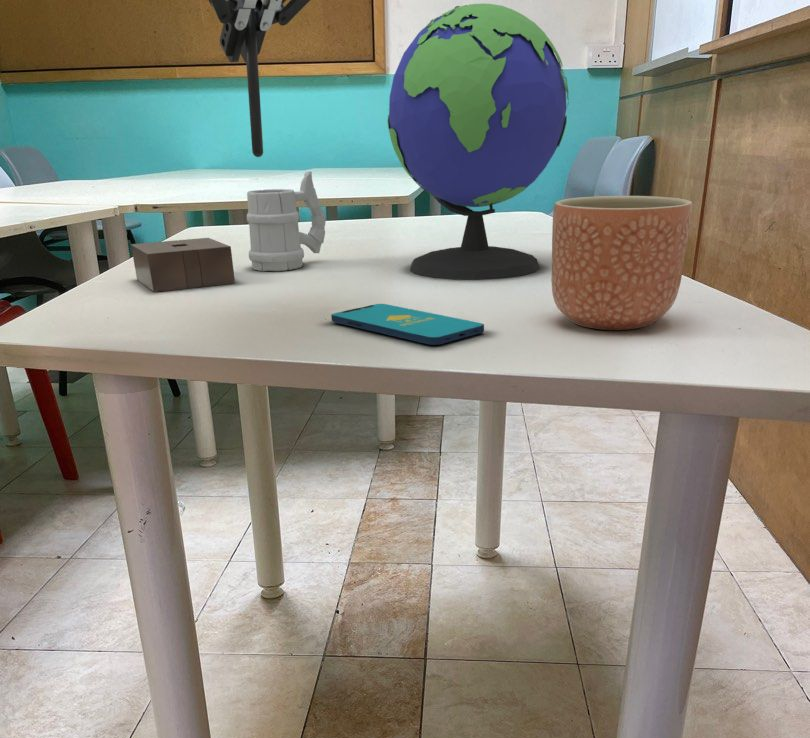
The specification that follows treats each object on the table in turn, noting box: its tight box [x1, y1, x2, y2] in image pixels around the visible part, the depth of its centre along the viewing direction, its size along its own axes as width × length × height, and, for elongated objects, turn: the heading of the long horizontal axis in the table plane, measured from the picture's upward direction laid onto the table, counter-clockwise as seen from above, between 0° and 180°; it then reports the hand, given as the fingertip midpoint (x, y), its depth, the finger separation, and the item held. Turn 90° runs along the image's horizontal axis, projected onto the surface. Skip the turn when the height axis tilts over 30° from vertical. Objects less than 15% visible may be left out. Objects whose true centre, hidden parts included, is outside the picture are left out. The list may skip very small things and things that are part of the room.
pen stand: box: [130, 237, 236, 293], centre depth 104 cm, size 10×10×4 cm
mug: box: [246, 170, 327, 272], centre depth 112 cm, size 8×12×12 cm, turn 125°
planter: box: [551, 195, 693, 331], centre depth 77 cm, size 12×12×11 cm
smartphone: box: [330, 303, 485, 346], centre depth 79 cm, size 7×1×15 cm
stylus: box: [245, 9, 264, 158], centre depth 79 cm, size 1×1×13 cm
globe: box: [386, 3, 570, 280], centre depth 102 cm, size 22×22×30 cm
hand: (237, 55), depth 79 cm, fingers closed on stylus, 1 cm apart
